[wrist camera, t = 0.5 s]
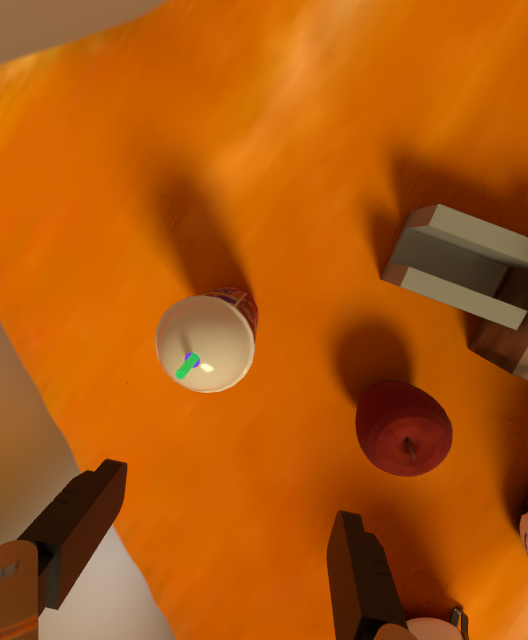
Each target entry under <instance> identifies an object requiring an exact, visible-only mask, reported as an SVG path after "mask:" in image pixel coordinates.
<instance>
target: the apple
mask: <svg viewBox="0 0 528 640" xmlns="http://www.w3.org/2000/svg"><path fill="white" fill-rule="evenodd" d="M355 422H356V433H357V437H358V441H359V444H360V447H361V449H362V450H363V452H364V454H365V455H366V457H367V458H368V459H369V460H370V461H371V463H372V464H374V465H375V466H376V467H378V468H379V469H381V470H383V471H385V472H387V473H390V474H393V475H397V476H404V477H408V476H417V475H422V474H424V473H427V472H429V471H431V470H432V469H434V468H435V467H437V466H438V465H439V464H440V463H441V462H442V461H443V460H444V459H445V457H446V456H447V454H448V452H449V450H450V448H451V444H452V433H453V430H452V425H451V422H450V420H449V418H448V416H447V414H446V412H445V411H444V409H443V408H442V407H441V406H440V404H439V403H438V402H437V401H436V400H435V399H434V398H433V397H431V396H430V395H429V394H427V393H426V392H424V391H423V390H421V389H419V388H417V387H415V386H413V385H410V384H407V383H402V382H394V381H391V382H382V383H379V384H376V385H374V386H372V387H371V388H370V389H368V390H367V391H366V393H365V394H364V395H363V396H362V398H361V400H360V401H359V404H358V407H357V411H356V421H355Z"/></svg>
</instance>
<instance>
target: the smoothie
mask: <svg viewBox="0 0 528 640" xmlns="http://www.w3.org/2000/svg"><path fill="white" fill-rule="evenodd" d="M257 323H258V309H257V306H256V304H255V302H254V300H253V299H252V298H251V297H250V296H249V294H248V293H247V292H245V291H243V290H241V289H239V288H234V287H224V288H219V289H216V290H213V291H209V292H206V293H203V294H200V295H196V296H193V297H187V298H185V299H183V300H181V301H179V302H177V303H175V304H173V305H172V306H171V307H170V308H169V309H168V310H167V311H166V312H165V313H164V314H163V316H162V318H161V320H160V322H159V324H158V326H157V328H156V336H155V347H156V352H157V357H158V359H159V361H160V363H161V365H162V367H163V369H164V371H165V372H166V374H167V375H168V376H169V377H170V378H172V379H173V380H174V381H175V382H176V383H177V384H179V385H181V386H183V387H185V388H187V389H189V390H193V391H198V392H203V393H210V392H220V391H223V390H225V389H227V388H230V387H232V386H234V385H235V384H236V383H238V382H239V381H240V380H241V379H242V378H243V377H245V375H246V373H247V371H248V370H249V368H250V366H251V365H252V362H253V357H254V352H255V338H256V330H257Z"/></svg>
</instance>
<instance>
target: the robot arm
mask: <svg viewBox="0 0 528 640" xmlns="http://www.w3.org/2000/svg"><path fill="white" fill-rule="evenodd" d="M126 476H127V463H125V462H120V461H116V460H111V459H106V460H104V461H103V463H102V464H101V465H100V466H99V467H98V468H97V470H96V471H95V472H93V471H89V470H87V471H85V472H83V473H82V474H80V475H78V476H77V477H75V478H73V479H72V480H71V481H70V482H69V483H68V484H67V485H66V487H65V488H64V489H63V490H62V492H61V493H59V494H58V495H57V496H56V497H55V499H54V500H53V502H51V503H50V504H49V505H48V506H47V507H46V508H45V509H44V511H43V512H42V513H41V514H40V515H39V516H38V517H37V518H36V519H35V520H34V521H33V523H32V524H31V525H30V526H29V527H28V528H27V529H26V530H25V531H24V532H23V533H22V534H21V535H20V537H19V538H18V539H17V540H14V541H10V542H7V543H4V544H1V545H0V640H38V618H39V616H40V615H41V613H42V612H43V610H44V609H45V607H47V608H51V609H56V610H58V609H59V607H60V606H61V604H62V603H63V601H64V599H65V598H66V596H67V595H68V593H69V591H70V590H71V588H72V587H73V585H74V584H75V582H76V580H77V578H78V577H79V576H80V574H81V572H82V571H83V569H84V568H85V566H86V565H87V563H88V561H89V560H90V558H91V557H92V555H93V553H94V552H95V550H96V549H97V547H98V545H99V544H100V542H101V541H102V539H103V538H104V536H105V534H106V533H107V531H108V530H109V528H110V527H111V525H112V523H113V522H114V520H115V519H116V517H117V515H118V513H119V511H120V509H121V507H122V504H123V500H124V494H125V485H126ZM327 567H328V576H329V584H330V593H331V601H332V610H333V618H334V626H335V635H336V640H418V639H417V638H416V637H415V636H414V635H413V634H412V633H411V632H409V629H408V626H407V623H406V620H405V617H404V613H403V610H402V607H401V604H400V600H399V597H398V594H397V591H396V588H395V584H394V581H393V579H392V575H391V571H390V568H389V566H388V562H387V558H386V555H385V552H384V549H383V547H382V545H381V544H380V543H379V541H378V540H377V538H376V537H375V535H374V534H372V533H367V532H365V530H364V527H363V523H362V519H361V516H360V515H359V514H355V513H351V512H346V511H341V510H339V511H338V512H337V515H336V518H335V522H334V525H333V529H332V532H331V536H330V539H329V543H328V548H327Z"/></svg>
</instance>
